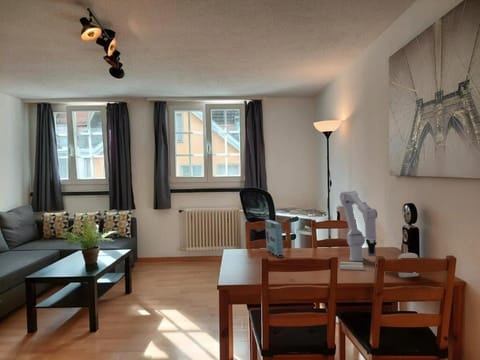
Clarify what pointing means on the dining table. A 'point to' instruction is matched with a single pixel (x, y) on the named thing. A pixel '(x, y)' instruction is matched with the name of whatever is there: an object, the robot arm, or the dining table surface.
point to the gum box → (274, 237)
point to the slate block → (372, 254)
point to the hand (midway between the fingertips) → (371, 252)
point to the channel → (351, 265)
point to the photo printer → (408, 255)
